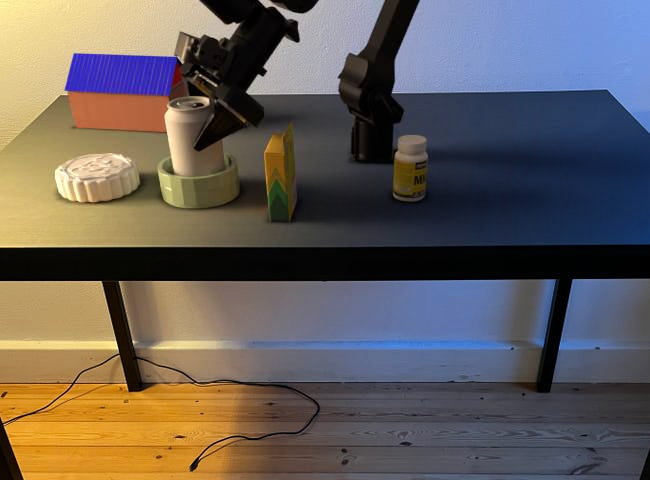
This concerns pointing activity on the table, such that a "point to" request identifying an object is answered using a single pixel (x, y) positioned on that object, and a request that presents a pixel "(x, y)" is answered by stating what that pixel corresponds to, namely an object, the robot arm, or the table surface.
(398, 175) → the supplement bottle
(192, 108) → the can
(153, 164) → the table surface
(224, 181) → the pot
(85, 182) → the mooncake
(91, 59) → the house
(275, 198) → the crayon box
